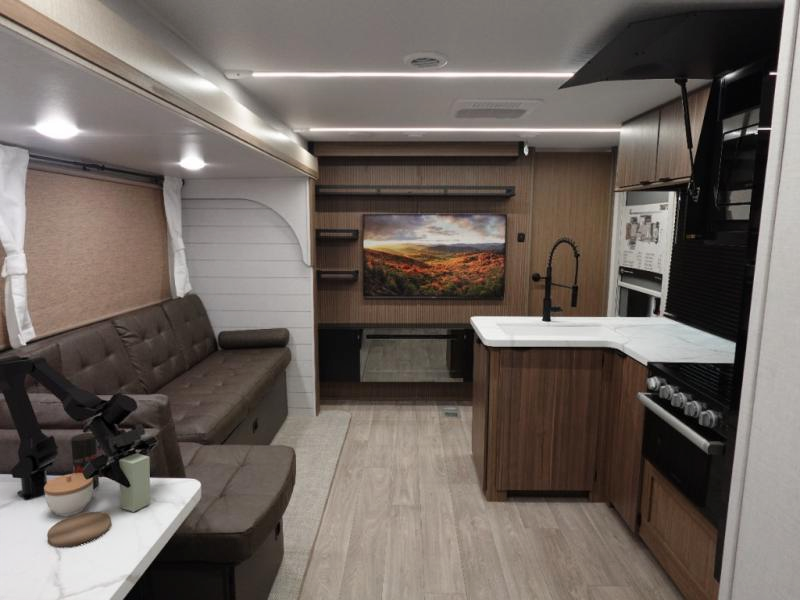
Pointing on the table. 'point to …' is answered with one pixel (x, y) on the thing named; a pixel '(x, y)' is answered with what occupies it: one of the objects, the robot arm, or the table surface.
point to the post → (135, 482)
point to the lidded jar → (68, 493)
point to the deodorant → (84, 453)
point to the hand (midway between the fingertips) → (138, 482)
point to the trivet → (79, 529)
